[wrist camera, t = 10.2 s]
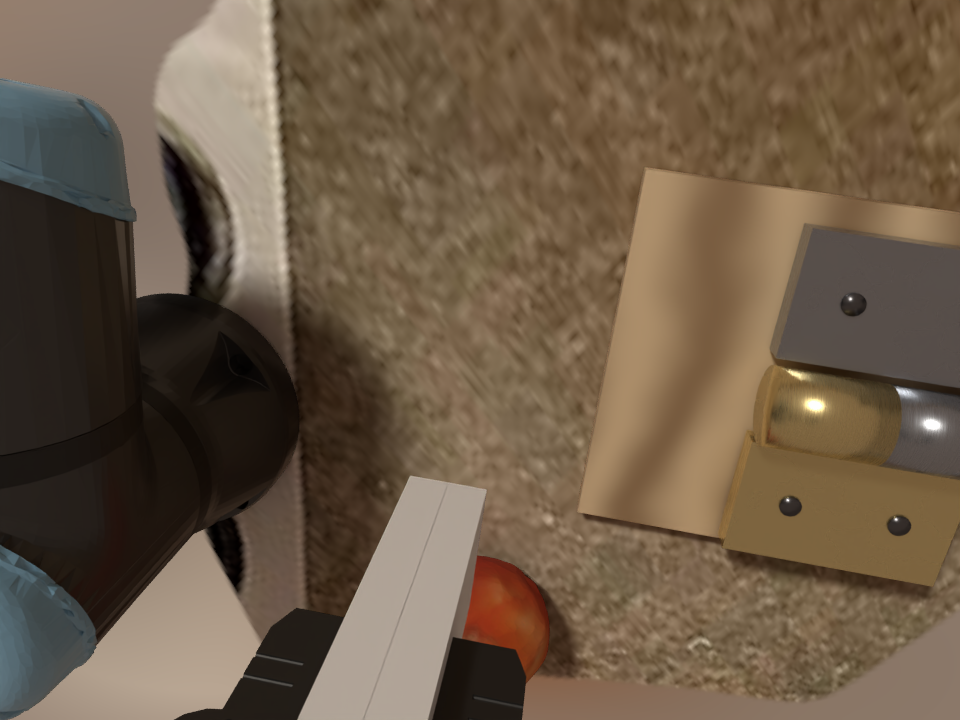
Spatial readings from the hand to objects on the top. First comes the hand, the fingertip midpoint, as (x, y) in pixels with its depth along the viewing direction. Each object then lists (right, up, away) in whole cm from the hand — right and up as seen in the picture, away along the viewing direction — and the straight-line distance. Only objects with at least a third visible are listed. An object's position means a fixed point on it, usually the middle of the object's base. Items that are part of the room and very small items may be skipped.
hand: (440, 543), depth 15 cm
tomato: (+1, -12, +37) cm, 39 cm away
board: (+19, +3, +29) cm, 35 cm away
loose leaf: (+22, -2, +29) cm, 36 cm away
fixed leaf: (+23, +4, +26) cm, 35 cm away
